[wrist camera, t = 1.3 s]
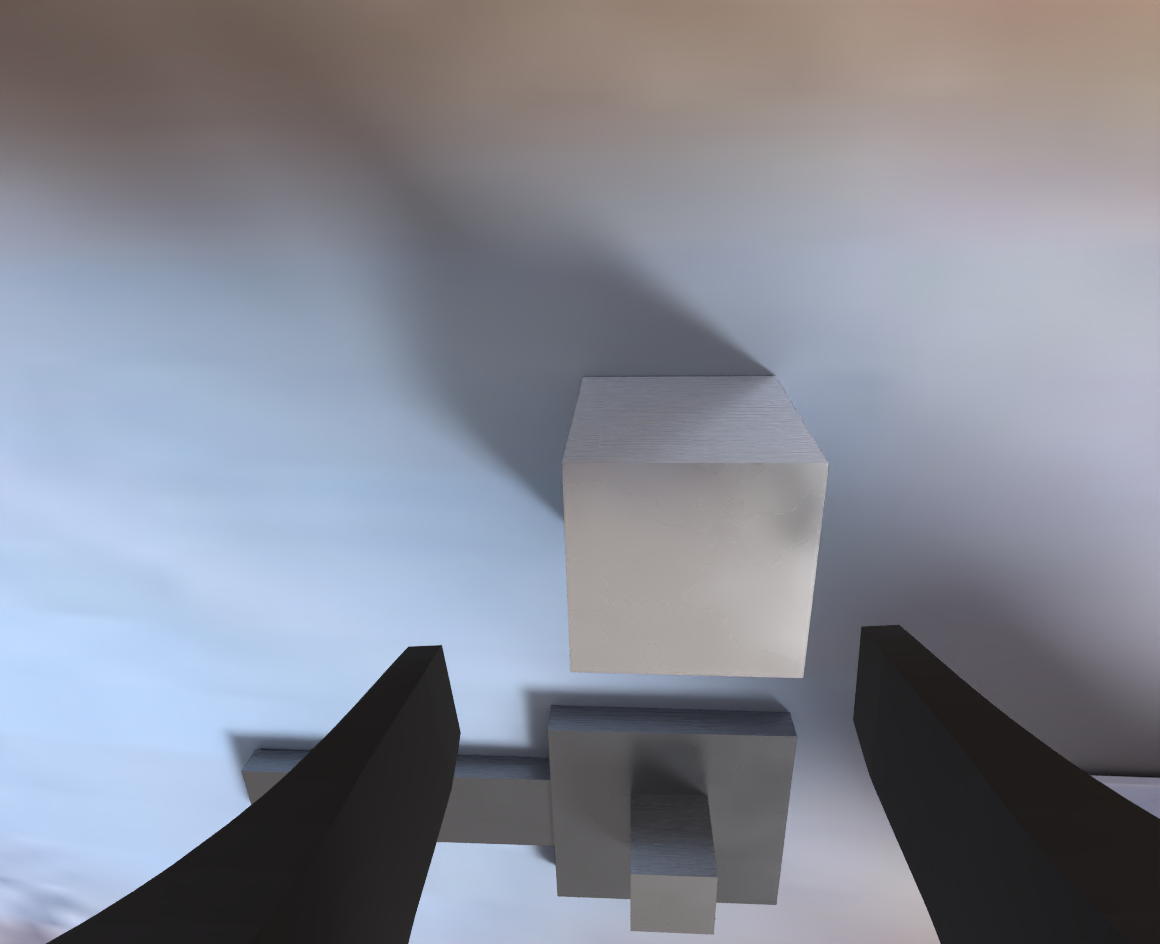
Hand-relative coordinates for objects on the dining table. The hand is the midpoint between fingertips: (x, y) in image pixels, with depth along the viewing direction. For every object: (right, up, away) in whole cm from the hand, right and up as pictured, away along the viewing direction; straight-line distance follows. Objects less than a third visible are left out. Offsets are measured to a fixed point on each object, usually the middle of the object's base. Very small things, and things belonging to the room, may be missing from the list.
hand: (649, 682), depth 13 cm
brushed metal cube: (+2, +4, +8) cm, 9 cm away
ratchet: (-4, -8, +14) cm, 16 cm away
